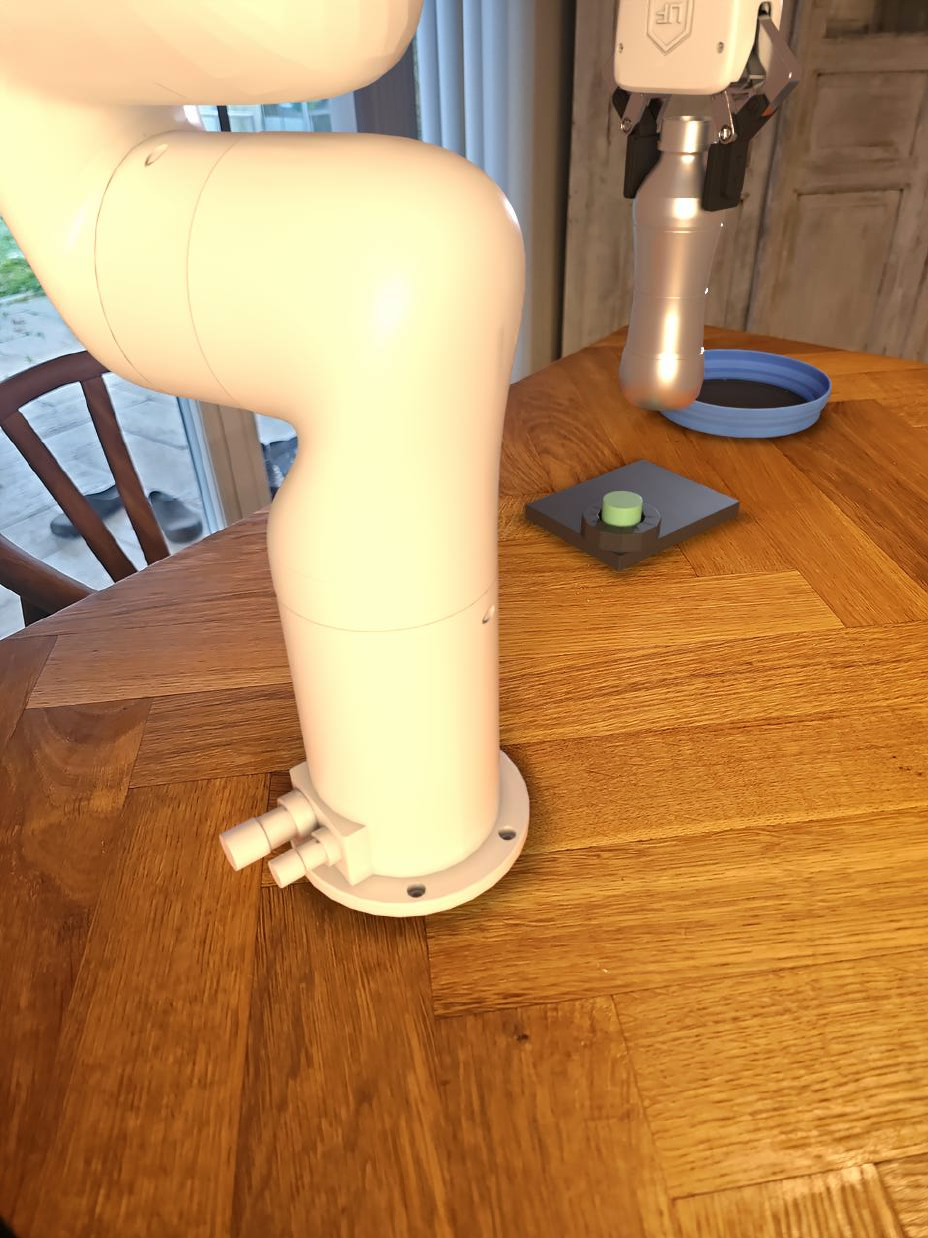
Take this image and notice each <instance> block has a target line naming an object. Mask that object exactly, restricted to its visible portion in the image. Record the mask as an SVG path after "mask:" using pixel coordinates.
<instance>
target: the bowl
mask: <svg viewBox="0 0 928 1238" xmlns="http://www.w3.org/2000/svg"><path fill="white" fill-rule="evenodd" d="M704 359H705V375H704V380H703V383H702V386H701V390H700V393H699V396H698V397H697V398H696V399H695V400H694V401H693V403H692V404H691V405H690V406H688V407H686V408H683V409H679V410H672V411H659V413H660V414H661V415H662V416H663V417H665V418H666V419H668V420H669V421H671V422H672V423H674V424H676V425H679V426H681V427H683V428H685V429H689V430H692V431H696V432H700V433H703V434H708V435H714V436H719V437H727V438H738V439H768V438H778V437H785V436H788V435H792V434H796V433H799V432H802V431H804V430H807V429H809V428H810V427H811V426H813V425H814V424H815V423H817V421H818V420H819V418H820V415H821V412H822V410H823V409H824V408H825V406H826V405H827V404H828V401H829V399H830V398H831V394H832V388H833V384H832V380H831V378H830V377H829V375H828V374H827V373H825V372H824V371H823V370H821V369H820V368H818V367H816V366H815V365H812V364H810V363H808V362H805V361H802V360H799V359H797V358H793V357H790V356H785V355H781V354H777V353H771V352H765V351H759V350H750V349H737V348H736V349H735V348H733V349H731V348H730V349H729V348H719V349H704Z"/></svg>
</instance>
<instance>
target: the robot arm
mask: <svg viewBox="0 0 928 1238" xmlns="http://www.w3.org/2000/svg"><path fill="white" fill-rule="evenodd" d="M424 1H425V0H0V217H1V219H2V220H3V222H4V223H5V226H6V227H7V229H8V231H9V232H10V234H11V236H12V238H13V240H14V241H15V243H16V244H17V246H18V248H19V250H20V252H21V254H22V255H23V257H24V258H25V260H26V262H27V264H28V266H29V267H30V269H31V271H32V272H33V275H34V276H35V278H36V279H37V281H38V283H39V285H40V287H41V288H42V290H43V292H44V293H45V295H46V296H47V298H48V299H49V301H50V303H51V304H52V306H53V307H54V309H55V311H56V312H57V313H58V315H59V317H60V318H61V319H62V321H63V323H64V324H65V325H66V327H67V328H68V329H69V331H70V332H71V333H72V334H73V336H74V337H75V339H76V340H77V341H78V342H79V343H80V345H82V347H83V348H84V349H85V350H86V351H87V352H88V354H90V355H91V357H93V358H94V359H95V360H96V361H97V362H99V364H101V365H102V366H103V367H104V368H106V369H107V370H108V371H110V372H112V373H113V374H114V375H116V376H117V377H119V378H121V379H123V380H125V381H127V382H128V383H130V384H133V385H135V386H138V387H141V388H143V389H146V390H150V391H153V392H157V393H159V394H163V395H168V396H172V397H176V398H182V399H187V400H193V401H198V402H204V403H207V404H208V403H209V404H214V405H219V406H224V407H229V408H234V409H240V410H245V411H249V412H251V413H254V414H256V415H260V416H263V417H267V418H268V417H269V418H272V419H276V420H281V421H283V422H285V423H288V424H289V425H290V426H291V427H292V428H293V429H294V431H295V435H296V438H297V448H296V449H297V450H296V453H295V457H294V458H293V462H292V463H291V465H290V467H289V470H288V471H287V473H286V475H285V477H284V478H283V480H282V482H280V483H281V484H279V485H280V486H279V487H278V489H277V491H276V493H275V495H274V497H273V499H272V502H271V504H270V508H269V511H268V514H267V521H266V522H267V523H266V550H267V557H268V565H269V570H270V576H271V581H272V586H273V590H274V592H275V599H276V602H277V609H278V614H279V618H280V623H281V629H282V634H283V635H282V636H283V639H284V640H283V641H284V645H285V646H284V647H285V650H286V656H287V661H288V666H289V673H290V677H291V683H292V688H293V693H294V698H295V704H296V709H297V714H298V715H297V716H298V721H299V725H300V731H301V735H302V742H303V747H304V753H305V757H306V759H305V760H303V762H300V763H298V764H296V765H294V766H292V767H291V768H289V771H288V772H289V775H290V781H291V785H292V790H290V791H289V792H287V793H285V794H282V795H280V796H279V797H278V798H277V799H276V805H277V807H275V808H273V809H271V810H269V811H267V812H265V813H263V814H261V815H259V816H258V817H254V816H252V817H250V818H248V819H246V820H245V821H243V822H241V823H239V824H237V825H235V826H233V827H230V828H229V829H227V830H224V831H223V832H221V833H219V835H218V839H219V842H220V845H221V848H222V850H223V852H224V854H225V857H226V858H227V860H228V862H229V864H230V865H231V868H232V869H234V871H235V872H238V871H240V870H241V869H243V868H246V867H247V866H249V865H251V864H253V863H255V862H256V861H258V860H260V859H262V858H264V857H265V856H267V855H270V854H271V853H272V851H273V850H275V849H277V848H279V847H280V846H283V845H284V844H285V843H288V842H290V845H291V848H290V849H289V850H287V851H284V852H283V853H281V854H279V855H278V856H276V857H274V858H272V859H270V860H269V861H267V866H268V868H269V871H270V874H271V876H272V878H273V880H274V882H276V885H277V886H278V887H279V888H280V889H283V888H286V887H287V886H288V885H290V884H292V883H294V882H296V881H298V880H300V879H301V878H303V877H304V876H305V877H306V879H308V880H309V883H311V884H312V885H313V886H314V888H316V889H317V890H318V891H320V892H321V893H323V894H324V895H325V896H326V897H328V898H329V899H330V900H332V901H334V902H337V903H339V904H341V905H343V906H345V907H347V908H349V909H351V910H355V911H358V912H362V913H366V914H369V915H372V916H373V915H374V916H384V917H395V918H407V917H418V916H419V917H420V916H427V915H432V914H436V913H439V912H444V911H448V910H451V909H453V908H456V907H458V906H461V905H464V904H465V903H467V902H470V901H473V900H474V899H475V898H477V897H479V896H480V895H481V894H483V893H485V892H487V891H488V890H489V889H491V888H492V887H494V886H495V885H496V883H498V882H499V881H500V880H501V879H502V878H503V877H504V876H505V875H506V874H507V873H508V872H509V871H510V869H512V867H513V866H514V864H515V862H516V861H517V859H518V858H519V856H520V855H521V854H522V850H523V849H524V845H525V843H526V841H527V837H528V833H529V827H530V826H529V825H530V797H529V793H528V789H527V784H526V782H525V779H524V777H523V776H522V774H521V771H520V770H519V767H518V766H517V765H516V764H515V762H514V761H512V759H511V758H510V757H509V756H508V754H506V753H505V752H504V751H503V750H502V749H500V747H501V746H500V744H501V743H500V742H501V741H500V611H499V610H500V606H499V605H500V600H499V599H500V597H499V595H500V594H499V593H500V592H499V591H500V590H499V589H500V588H499V585H500V583H499V582H500V581H499V580H500V579H499V578H500V577H499V493H500V492H499V491H500V490H499V489H500V488H499V487H500V486H499V485H500V472H501V455H502V454H501V453H502V445H503V444H502V443H503V436H504V435H503V433H504V426H505V419H506V418H505V417H506V409H507V405H508V398H509V392H510V386H511V381H512V375H513V374H512V373H513V369H514V364H515V358H516V352H517V349H518V342H519V337H520V332H521V327H522V326H521V325H522V319H523V313H524V304H525V296H526V280H527V279H526V278H527V275H526V274H527V260H526V249H525V243H524V239H523V238H524V237H523V232H522V229H521V226H520V223H519V219H518V217H517V215H516V212H515V210H514V207H513V206H512V204H511V203H510V201H509V199H508V197H507V196H506V194H505V193H504V191H503V190H502V189H501V188H500V186H499V185H498V184H497V183H496V181H495V180H494V179H493V178H492V177H491V176H490V175H489V174H488V173H487V172H486V171H484V170H483V169H482V168H480V167H479V166H477V165H476V164H475V163H474V162H472V161H470V160H469V159H467V158H465V157H464V156H462V155H460V154H458V153H456V152H455V151H453V150H450V149H447V148H445V147H443V146H440V145H437V144H433V143H429V142H426V141H422V140H418V139H414V138H411V137H404V136H400V135H399V136H398V135H390V134H382V133H374V132H351V131H350V132H349V131H347V132H346V131H304V130H303V131H300V130H299V131H297V130H261V131H258V132H255V131H254V132H252V131H219V130H218V131H216V130H213V131H212V130H207V129H206V126H205V123H204V121H203V118H202V114H201V112H200V108H199V106H259V105H260V106H261V105H277V104H278V105H279V104H291V103H292V104H294V103H309V102H316V101H321V100H322V101H323V100H329V99H333V98H338V97H341V96H345V95H347V94H350V93H352V92H354V91H355V92H356V91H357V90H360V89H363V88H366V87H368V86H369V85H372V84H373V83H375V82H376V81H378V80H379V79H380V78H381V77H383V76H384V75H385V74H387V73H388V72H389V71H390V70H391V69H392V68H394V67H395V66H396V65H397V64H398V63H399V62H400V60H401V59H402V57H404V55H405V53H406V52H407V50H408V48H409V46H410V44H411V42H412V39H413V38H414V36H415V35H416V33H417V30H418V27H419V25H420V22H421V18H422V12H423V8H424ZM618 4H619V5H618V13H617V21H616V32H615V43H614V50H613V51H612V53H611V54H610V56H609V57H608V59H607V60H606V62H605V63H603V64H604V65H602V68H601V71H600V73H601V77H602V80H603V82H604V84H605V86H606V88H607V90H608V92H609V95H610V96H611V97H612V105H613V107H614V109H615V112H616V114H617V115H618V117H619V119H620V127H619V129H620V131H621V133H622V135H624V136H626V150H625V164H624V175H623V176H624V178H623V191H622V195H623V198H624V199H628V200H634V199H635V196H636V193H637V190H638V188H639V187H640V185H641V184H642V182H643V181H644V179H645V178H646V176H647V175H648V173H649V172H650V171H651V170H652V168H653V167H654V166H655V164H656V163H657V162H658V161H659V159H660V155H661V150H658V149H657V144H658V141H659V139H660V131H658V129H659V127H660V126H661V122H662V118H664V115H665V112H666V110H667V107H668V105H669V102H670V101H671V97H672V95H685V96H686V95H689V96H690V95H691V96H710V101H711V102H710V103H711V108H712V114H713V117H714V119H715V124H716V134H717V138H718V142H716V143H712V144H710V147H709V150H708V158H707V166H706V174H705V182H704V191H703V199H702V208H703V209H704V211H709V212H714V211H719V210H724V209H726V210H728V209H734V208H737V207H738V206H739V204H740V202H741V196H742V191H743V189H744V185H745V184H744V183H745V178H746V177H745V176H746V169H747V162H748V156H749V149H750V143H751V142H752V141H755V140H756V139H757V138H759V136H760V134H761V130H762V128H763V127H764V126H765V125H766V124H767V123H768V121H769V120H770V119H771V118H773V116H774V115H775V114H776V113H777V111H778V109H779V108H780V104H781V103H783V102H784V101H785V100H786V99H787V98H788V97H789V95H790V94H791V93H792V92H793V91H794V90H795V88H796V87H797V86H798V85H799V84H800V82H801V81H802V78H803V75H804V73H803V68H802V66H801V65H800V63H799V61H798V60H797V58H796V57H795V55H794V53H793V52H792V50H791V49H790V47H789V46H788V45H789V44H788V43H787V42H786V41H785V39H784V37H783V35H782V34H781V32H780V26H781V18H782V12H783V11H782V10H783V0H619V3H618ZM759 88H760V89H759ZM756 89H759V90H758V91H757V93H756V94H755V90H756Z"/></svg>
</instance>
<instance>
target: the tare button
mask: <svg viewBox="0 0 928 1238" xmlns="http://www.w3.org/2000/svg"><path fill="white" fill-rule="evenodd" d="M642 503H643V500H642V498H641V497H640V496H639V495H637V494H635V493H632V492H628V491H615V492H610V493H608V494H606V495H605V496H604V497H603V504H602V521H603V522H604V523H606V524H608V525H612V526H617V527H630V526H635V525H637V524H639V523H640V521H641V512H642Z"/></svg>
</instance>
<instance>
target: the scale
mask: <svg viewBox="0 0 928 1238" xmlns="http://www.w3.org/2000/svg"><path fill="white" fill-rule="evenodd" d="M615 491H628V492H632V493H635V494H637V495H639V496H640V497H641V498H642V500H643V503H642V512H641V521H640V523H639V524H637V525H635V526H630V527H617V526H612V525H608V524H606V523H604V522H603V521H602V504H603V497H604V496H605V495H606V494H608V493H610V492H615ZM740 504H741V501H740V500H737V499H735V498H733V497H731V496H728V495H725V494H724V493H721V492H719V491H717V490H715V489H712V488H711V487H708V486H705V485H704V484H701V483H699V482H696V481H694V480H691V479H689V478H687V477H685V476H682V475H680V474H678V473H676V472H673V471H670V470H669V469H667V468H664V467H662V466H659V465H657V464H654V463H652V462H651V461H648V460H646V459H643V458H642V459H639V460H637V461H634V462H631V463H629V464H626V465H624V466H622V467H619V468H616V469H614V470H611V471H609V472H606V473H603V474H601V475H598V476H596V477H593V478H591V479H588V480H585V481H582V482H581V483H577V484H575V485H573V486H570V487H568V488H564V489H562V490H560V491H559V490H558V491H557V492H554V493H552V494H549V495H547V496H544V497H541V498H539V499H536V500H533V501H531V502H529V503H526V504H525V520H528V521H529V522H531V523H533V524H535V525H536V526H538V527H540V528H542V529H543V530H544V531H547V532H548V533H550V534H552V535H554V536H555V537H557V538H559V539H561V540H563V541H564V542H566V543H567V544H570V545H571V546H573V547H575V548H577V549H578V550H580V551H582V552H583V553H585V554H587V555H588V556H590V557H592V558H594V559H595V560H598V561H600V562H601V563H603V564H604V565H606V566H608V567H610V568H611V569H613V570H615V571H617V572H621V571H623V570H625V569H627V568H629V567H632V566H635V565H636V564H638V563H640V562H642V561H644V560H647V559H649V558H650V557H653V556H655V555H657V554H659V553H662V552H663V551H665V550H667V549H670V548H672V547H674V546H676V545H678V544H680V543H683V542H685V541H687V540H689V539H691V538H694V537H695V536H698V535H700V534H702V533H704V532H706V531H708V530H710V529H712V528H714V527H717V526H719V525H721V524H723V523H725V522H727V521H730V520H732V519H734V518H736V517H738V516H739V510H740Z"/></svg>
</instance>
